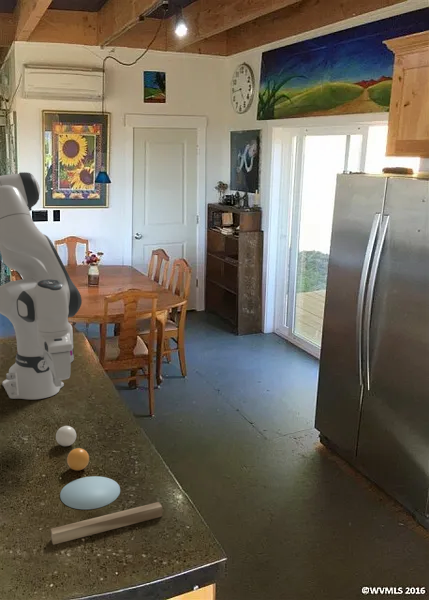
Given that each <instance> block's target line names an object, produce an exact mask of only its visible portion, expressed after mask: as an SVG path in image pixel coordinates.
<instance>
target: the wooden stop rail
mask: <svg viewBox="0 0 429 600" xmlns="http://www.w3.org/2000/svg"><path fill="white" fill-rule="evenodd" d="M161 517H163V507H162V504H161V503H160V501H157V502H153V503H152V502H151V503H148V504H146V505H140V506H136V507H134V508H129V509H125V510H120V511H117V512H116V511H115V512H111V513H108V514H105V515H101V516H96V517H92V518H88V519H85V520H80V521H77V522H73V523H68V524H64V525H60V526H57V527H52V528H50V540H51V543H52V545H57V544H62V543H66V542H69V541H72V540H77V539H81V538H84V537H87V536H88V537H89V536H93V535H95V534H100V533H104V532H107V531H110V530H115V529H119V528H123V527H127V526H130V525H134V524H138V523H142V522H146V521H149V520H154V519H158V518H161Z"/></svg>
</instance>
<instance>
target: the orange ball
mask: <svg viewBox="0 0 429 600" xmlns="http://www.w3.org/2000/svg"><path fill="white" fill-rule="evenodd" d="M66 457H67V458H66V462H67V465H68V466H69V468H70V469H71V470H74V471H81V470H84V469H85V468H86V467H88V465H89V462H90V454H89V453H88V452H87V450H85V449H84V448H81V447H77V448H74V449H71V450H70V452H69V453H68V455H67V456H66Z"/></svg>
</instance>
